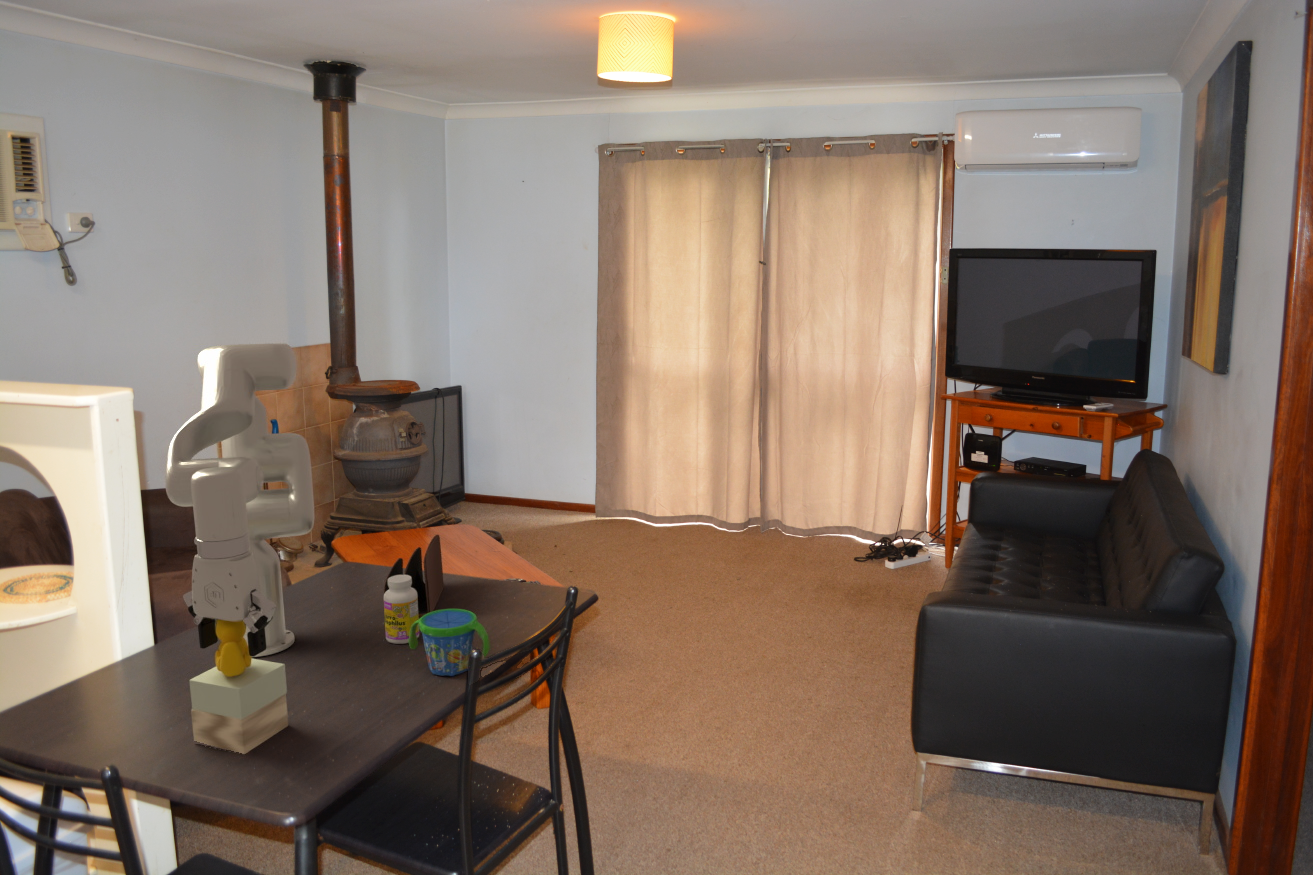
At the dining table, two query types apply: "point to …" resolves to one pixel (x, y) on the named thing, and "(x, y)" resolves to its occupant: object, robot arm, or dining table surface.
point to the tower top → (238, 689)
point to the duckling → (232, 648)
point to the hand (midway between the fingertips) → (233, 649)
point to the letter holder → (432, 572)
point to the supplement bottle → (400, 609)
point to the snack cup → (448, 639)
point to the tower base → (240, 727)
